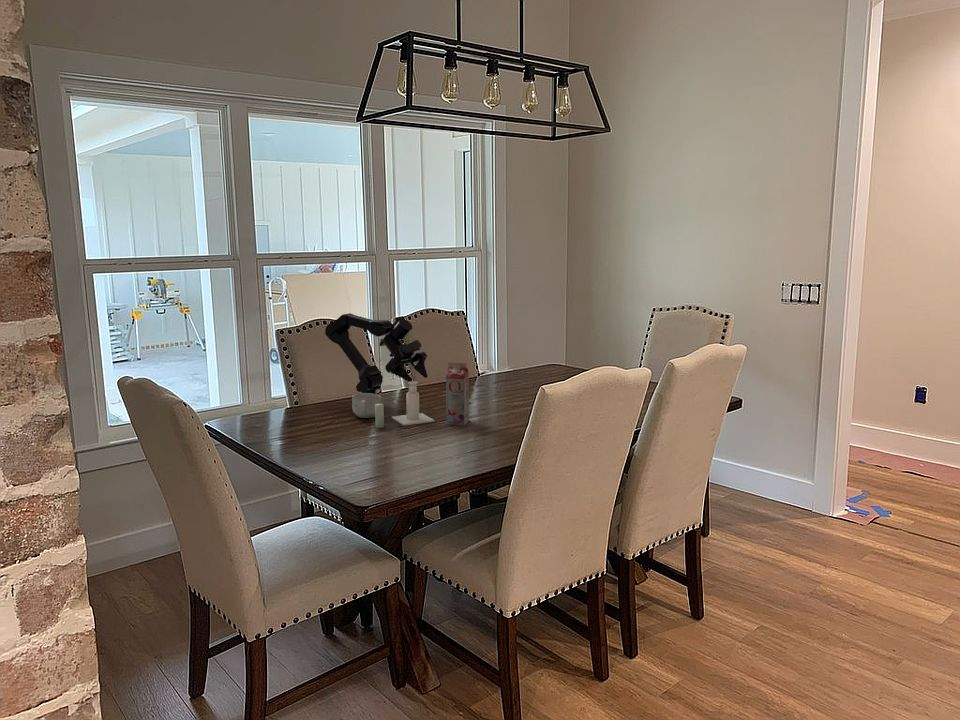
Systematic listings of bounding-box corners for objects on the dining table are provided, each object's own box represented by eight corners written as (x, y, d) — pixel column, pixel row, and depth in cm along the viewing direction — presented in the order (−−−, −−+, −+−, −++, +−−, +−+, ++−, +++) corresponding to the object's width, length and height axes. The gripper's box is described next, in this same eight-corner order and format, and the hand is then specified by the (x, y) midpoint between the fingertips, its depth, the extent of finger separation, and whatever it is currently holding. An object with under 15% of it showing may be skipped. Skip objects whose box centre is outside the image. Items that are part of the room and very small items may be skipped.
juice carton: (464, 425, 271) (464, 364, 267) (446, 424, 272) (445, 364, 269) (468, 420, 278) (468, 361, 274) (451, 419, 279) (450, 360, 275)
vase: (404, 419, 277) (404, 382, 275) (408, 416, 281) (408, 380, 279) (417, 420, 276) (417, 383, 274) (420, 417, 281) (420, 380, 278)
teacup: (358, 412, 291) (358, 391, 290) (385, 413, 289) (385, 392, 288) (345, 421, 278) (344, 399, 276) (373, 422, 275) (372, 401, 274)
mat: (391, 418, 282) (391, 416, 281) (421, 414, 287) (421, 412, 287) (403, 425, 271) (403, 424, 271) (434, 421, 276) (434, 420, 276)
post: (374, 426, 270) (373, 404, 269) (382, 425, 272) (381, 403, 270) (377, 428, 268) (376, 406, 266) (385, 427, 269) (384, 405, 268)
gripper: (390, 336, 277) (414, 369, 273) (423, 330, 292) (446, 362, 288) (375, 356, 283) (398, 388, 278) (407, 349, 298) (430, 380, 293)
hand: (418, 379), depth 284 cm, fingers open, 9 cm apart
